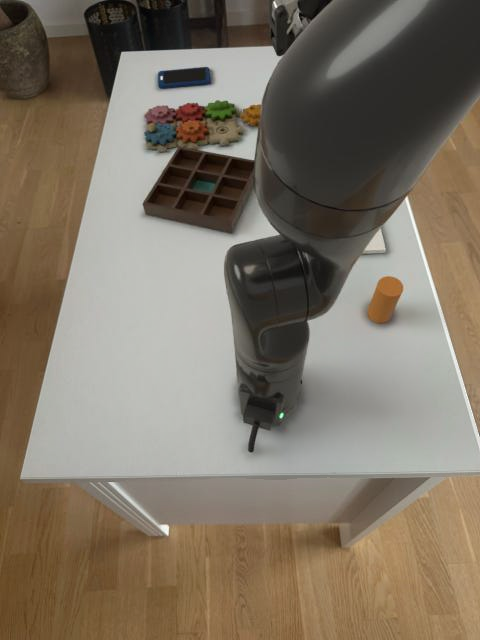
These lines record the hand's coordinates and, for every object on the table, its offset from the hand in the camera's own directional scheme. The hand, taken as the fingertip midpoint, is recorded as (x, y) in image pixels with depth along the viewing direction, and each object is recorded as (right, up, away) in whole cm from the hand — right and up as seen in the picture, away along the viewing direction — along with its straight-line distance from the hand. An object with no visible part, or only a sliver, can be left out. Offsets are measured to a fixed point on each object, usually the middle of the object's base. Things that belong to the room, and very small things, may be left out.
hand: (328, 56), depth 56 cm
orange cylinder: (+13, -32, +20) cm, 40 cm away
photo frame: (+7, -15, +32) cm, 36 cm away
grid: (-19, -6, +38) cm, 43 cm away
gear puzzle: (-18, +13, +51) cm, 56 cm away
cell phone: (-26, +31, +62) cm, 75 cm away
